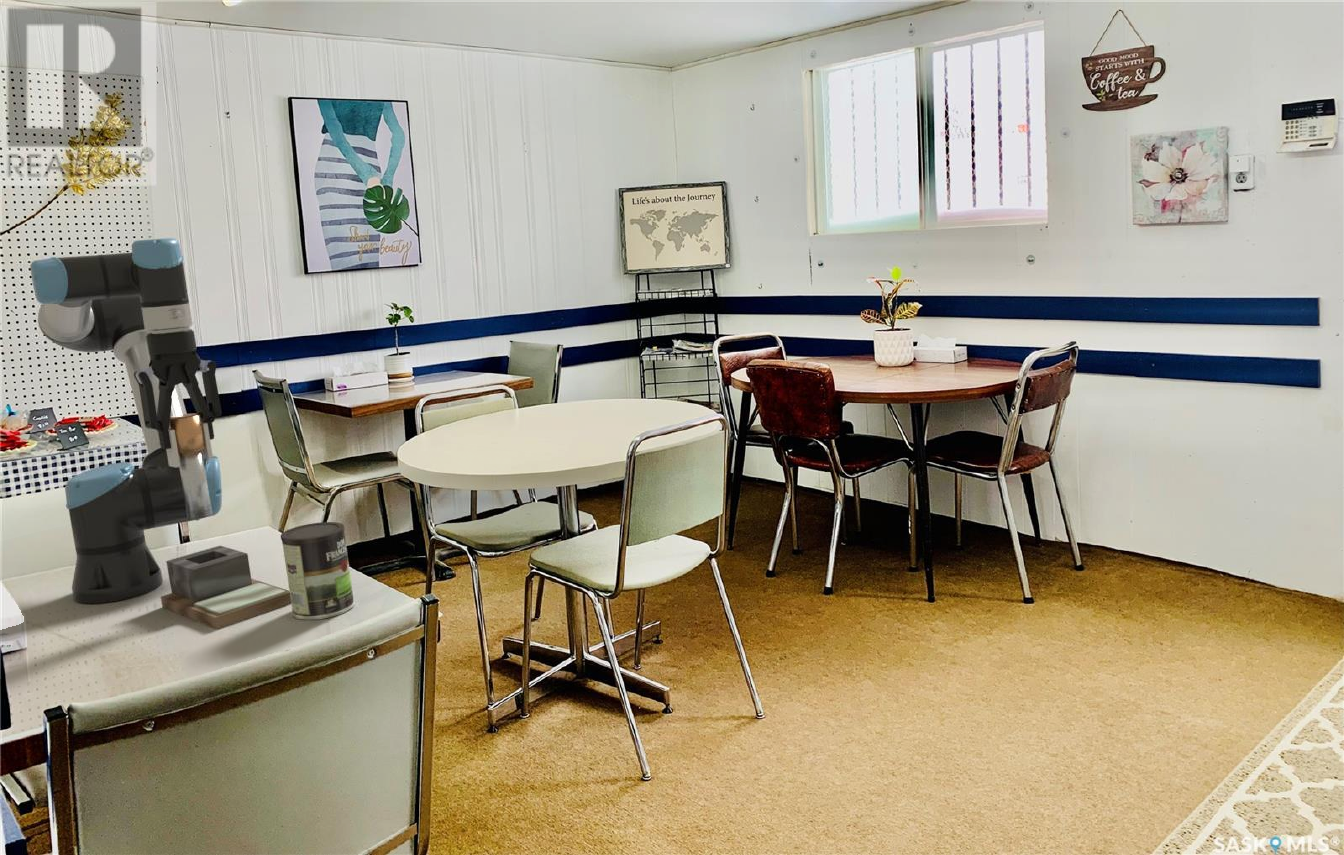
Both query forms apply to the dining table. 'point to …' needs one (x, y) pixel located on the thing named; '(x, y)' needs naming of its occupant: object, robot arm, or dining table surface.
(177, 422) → the peg
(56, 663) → the dining table surface
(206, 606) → the board
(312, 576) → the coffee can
